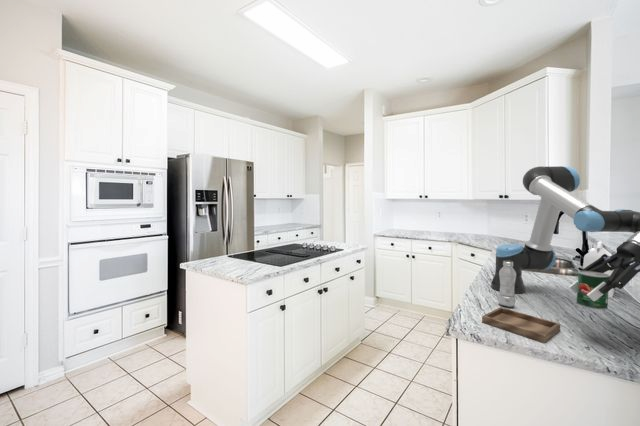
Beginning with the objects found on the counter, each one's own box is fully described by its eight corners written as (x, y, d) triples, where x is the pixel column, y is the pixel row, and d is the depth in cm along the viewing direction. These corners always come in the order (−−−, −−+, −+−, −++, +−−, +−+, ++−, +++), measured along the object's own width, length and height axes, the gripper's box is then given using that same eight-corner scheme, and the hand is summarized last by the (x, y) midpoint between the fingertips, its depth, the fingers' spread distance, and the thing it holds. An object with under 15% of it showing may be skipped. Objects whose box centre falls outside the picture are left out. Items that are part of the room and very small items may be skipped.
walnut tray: (482, 322, 114) (482, 316, 113) (500, 312, 123) (500, 307, 123) (544, 343, 98) (544, 336, 97) (560, 330, 107) (560, 323, 107)
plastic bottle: (509, 309, 127) (512, 263, 126) (494, 304, 133) (496, 260, 132) (518, 307, 130) (520, 262, 129) (503, 302, 136) (504, 259, 135)
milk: (611, 297, 143) (615, 244, 142) (580, 291, 152) (583, 241, 150) (614, 292, 151) (617, 242, 150) (584, 287, 160) (586, 239, 158)
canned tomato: (582, 307, 98) (584, 275, 98) (572, 300, 106) (573, 269, 105) (613, 311, 95) (615, 277, 95) (600, 303, 103) (602, 271, 102)
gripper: (680, 263, 87) (614, 313, 90) (619, 251, 108) (568, 292, 111) (660, 245, 88) (596, 295, 91) (604, 236, 108) (553, 277, 111)
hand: (581, 293), depth 101 cm, fingers closed on canned tomato, 8 cm apart
